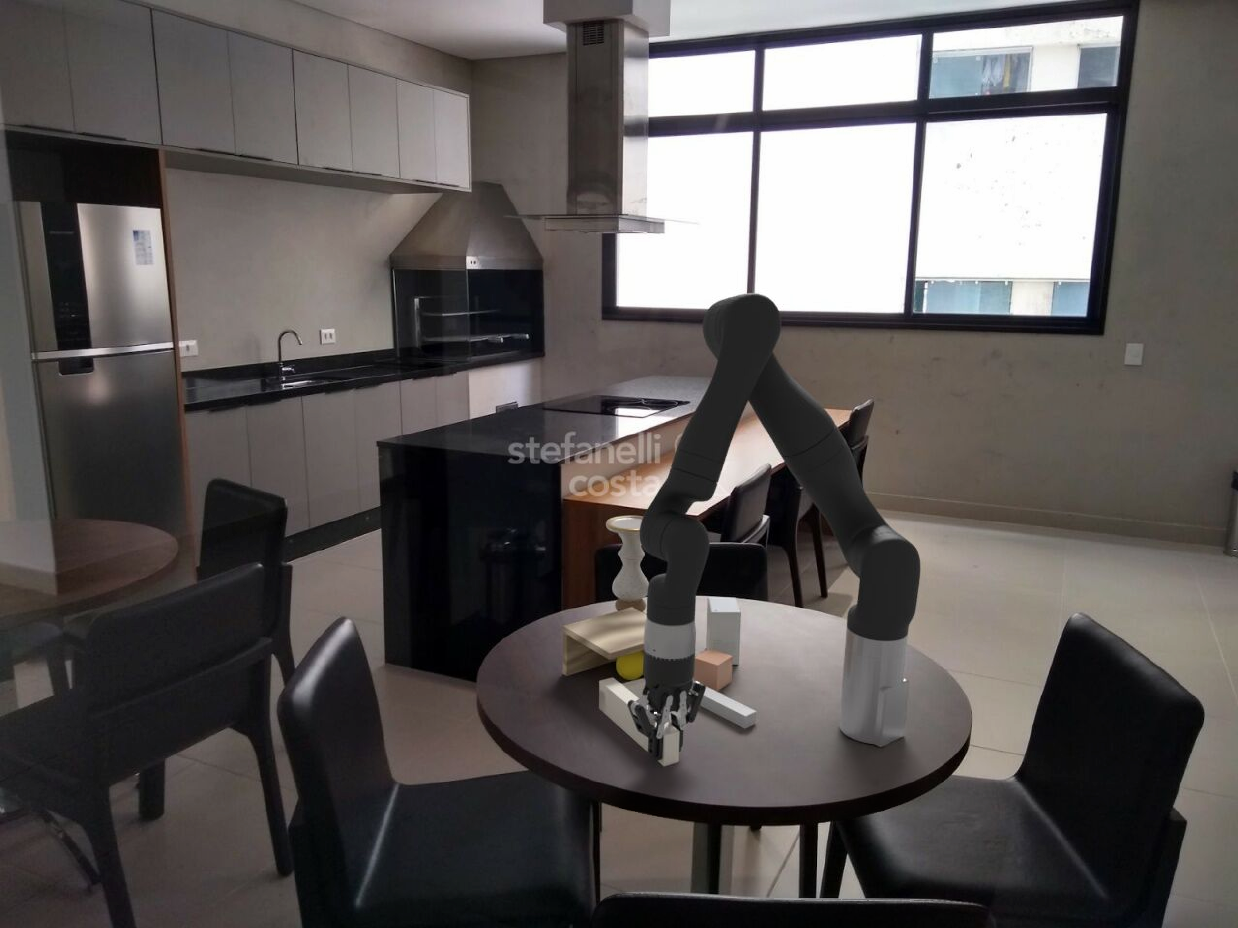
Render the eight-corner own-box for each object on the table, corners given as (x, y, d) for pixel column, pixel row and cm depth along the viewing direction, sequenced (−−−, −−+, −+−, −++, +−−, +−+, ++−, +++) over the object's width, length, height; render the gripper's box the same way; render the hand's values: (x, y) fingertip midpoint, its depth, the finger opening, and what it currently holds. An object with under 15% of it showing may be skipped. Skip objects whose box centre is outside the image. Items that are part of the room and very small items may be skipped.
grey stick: (755, 725, 143) (756, 711, 142) (744, 730, 141) (745, 716, 141) (694, 693, 153) (694, 680, 153) (683, 698, 152) (683, 685, 151)
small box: (739, 665, 164) (741, 612, 161) (708, 665, 164) (711, 611, 162) (734, 647, 172) (736, 596, 169) (705, 647, 172) (707, 596, 169)
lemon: (640, 689, 155) (639, 663, 153) (611, 684, 157) (610, 658, 155) (651, 668, 161) (651, 642, 159) (623, 663, 163) (623, 638, 161)
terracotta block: (731, 681, 157) (732, 655, 156) (716, 692, 153) (718, 665, 152) (707, 673, 160) (708, 648, 159) (692, 683, 156) (693, 657, 155)
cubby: (679, 679, 158) (681, 631, 156) (609, 704, 148) (610, 653, 146) (631, 652, 169) (632, 607, 167) (562, 673, 159) (562, 625, 157)
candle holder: (595, 644, 172) (596, 526, 167) (611, 623, 182) (613, 512, 177) (649, 652, 169) (652, 532, 164) (663, 630, 179) (666, 517, 174)
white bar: (711, 751, 134) (712, 721, 133) (663, 766, 130) (664, 735, 129) (643, 697, 151) (643, 669, 150) (599, 708, 147) (599, 680, 146)
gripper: (648, 667, 121) (644, 780, 125) (722, 643, 130) (716, 750, 133) (615, 648, 127) (612, 757, 131) (688, 627, 135) (684, 730, 139)
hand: (665, 753), depth 132 cm, fingers closed on white bar, 3 cm apart
